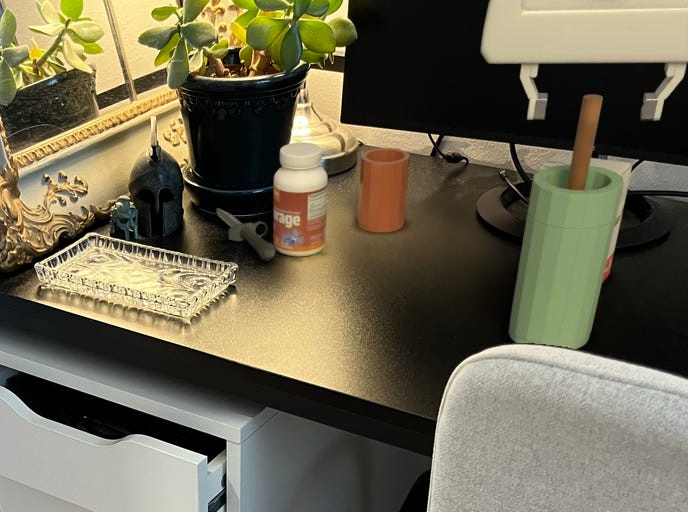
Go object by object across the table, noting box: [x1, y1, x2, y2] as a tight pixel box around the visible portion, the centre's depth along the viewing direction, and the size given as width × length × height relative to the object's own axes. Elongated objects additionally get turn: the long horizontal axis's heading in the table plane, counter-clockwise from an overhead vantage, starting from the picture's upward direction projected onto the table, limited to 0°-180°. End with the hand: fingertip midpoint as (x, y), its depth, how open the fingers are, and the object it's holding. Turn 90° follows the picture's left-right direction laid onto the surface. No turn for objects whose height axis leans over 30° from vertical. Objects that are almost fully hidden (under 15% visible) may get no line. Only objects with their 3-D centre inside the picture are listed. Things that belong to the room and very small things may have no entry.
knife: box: [216, 207, 277, 262], centre depth 123 cm, size 19×2×5 cm
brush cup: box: [357, 147, 411, 234], centre depth 121 cm, size 6×6×8 cm
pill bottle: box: [273, 141, 329, 257], centre depth 116 cm, size 6×6×11 cm
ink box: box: [537, 152, 633, 284], centre depth 107 cm, size 9×5×12 cm, turn 56°
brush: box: [566, 93, 604, 191], centre depth 93 cm, size 3×3×21 cm
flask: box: [508, 164, 624, 350], centre depth 96 cm, size 8×8×15 cm
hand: (591, 118), depth 87 cm, fingers open, 8 cm apart
